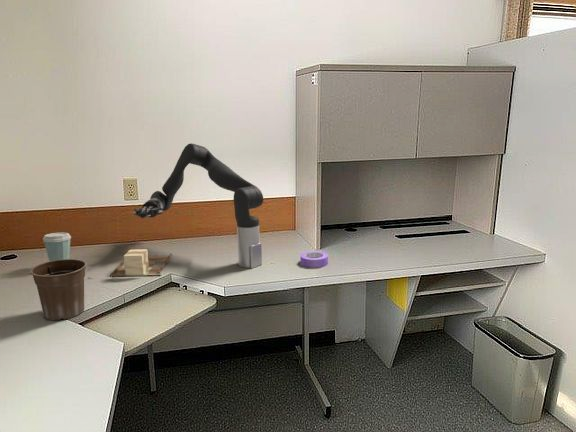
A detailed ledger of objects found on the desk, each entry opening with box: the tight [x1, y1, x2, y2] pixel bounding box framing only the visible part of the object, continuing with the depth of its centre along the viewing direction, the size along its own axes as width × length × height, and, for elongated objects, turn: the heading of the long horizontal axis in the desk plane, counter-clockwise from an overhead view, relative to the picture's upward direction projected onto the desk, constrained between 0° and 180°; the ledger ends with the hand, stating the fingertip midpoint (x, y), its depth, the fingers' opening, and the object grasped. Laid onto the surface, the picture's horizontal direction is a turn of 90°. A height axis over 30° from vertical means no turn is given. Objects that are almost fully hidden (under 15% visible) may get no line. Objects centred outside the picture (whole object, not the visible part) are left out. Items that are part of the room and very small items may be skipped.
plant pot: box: [30, 258, 87, 321], centre depth 151 cm, size 16×16×16 cm
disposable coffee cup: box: [42, 232, 72, 262], centre depth 195 cm, size 11×11×15 cm
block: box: [123, 248, 149, 275], centre depth 186 cm, size 8×7×8 cm
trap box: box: [111, 253, 173, 278], centre depth 195 cm, size 23×19×2 cm
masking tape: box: [300, 250, 329, 269], centre depth 197 cm, size 12×12×4 cm
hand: (142, 215), depth 195 cm, fingers closed
